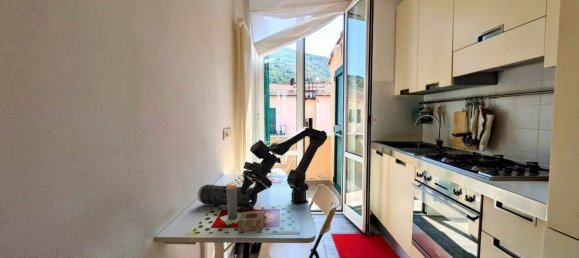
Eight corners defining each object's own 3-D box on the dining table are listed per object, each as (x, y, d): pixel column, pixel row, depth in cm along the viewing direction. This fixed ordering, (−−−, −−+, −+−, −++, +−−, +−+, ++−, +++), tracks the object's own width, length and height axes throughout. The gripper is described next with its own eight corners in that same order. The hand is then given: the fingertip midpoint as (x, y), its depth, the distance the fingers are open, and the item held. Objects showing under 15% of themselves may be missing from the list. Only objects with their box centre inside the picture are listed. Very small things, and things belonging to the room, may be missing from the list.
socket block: (264, 220, 107) (264, 211, 106) (262, 230, 98) (261, 219, 97) (243, 221, 107) (242, 211, 107) (238, 231, 98) (237, 220, 98)
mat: (239, 213, 116) (239, 212, 116) (248, 219, 109) (248, 218, 109) (219, 218, 111) (219, 217, 111) (227, 225, 104) (227, 223, 104)
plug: (237, 215, 112) (235, 183, 112) (237, 218, 108) (235, 185, 108) (228, 216, 111) (226, 184, 111) (227, 220, 107) (226, 186, 107)
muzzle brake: (249, 212, 117) (248, 189, 117) (197, 208, 126) (195, 187, 125) (258, 205, 126) (257, 184, 126) (209, 201, 135) (207, 182, 135)
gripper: (245, 152, 123) (223, 179, 117) (264, 156, 107) (240, 188, 101) (261, 166, 127) (241, 193, 122) (281, 172, 112) (259, 203, 106)
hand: (245, 194), depth 113 cm, fingers open, 9 cm apart
